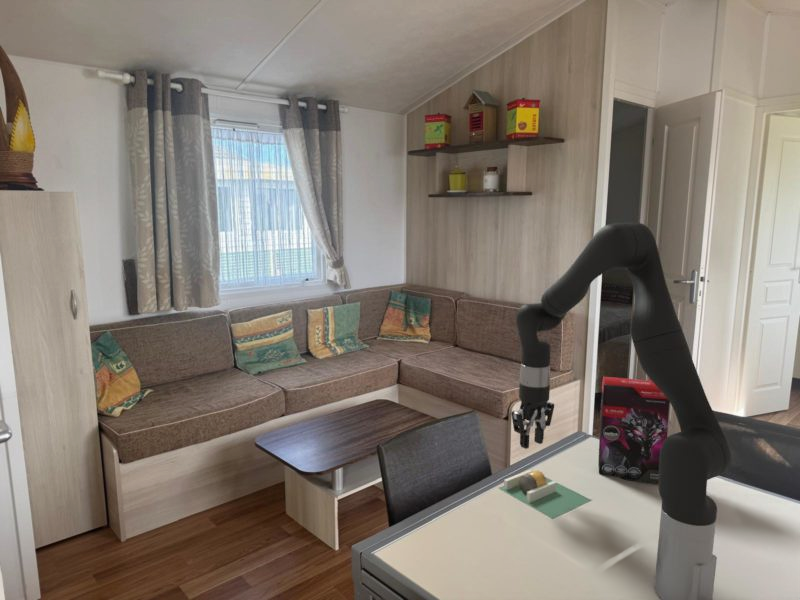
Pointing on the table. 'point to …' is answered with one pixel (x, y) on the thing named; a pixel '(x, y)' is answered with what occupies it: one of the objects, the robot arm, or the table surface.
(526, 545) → the table surface
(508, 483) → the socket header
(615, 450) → the graphics card box
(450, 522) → the table surface
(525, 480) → the amber plug
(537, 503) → the green board
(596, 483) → the table surface
